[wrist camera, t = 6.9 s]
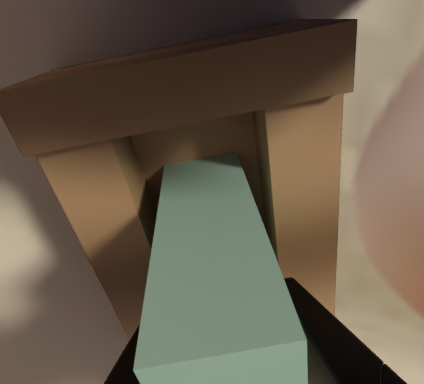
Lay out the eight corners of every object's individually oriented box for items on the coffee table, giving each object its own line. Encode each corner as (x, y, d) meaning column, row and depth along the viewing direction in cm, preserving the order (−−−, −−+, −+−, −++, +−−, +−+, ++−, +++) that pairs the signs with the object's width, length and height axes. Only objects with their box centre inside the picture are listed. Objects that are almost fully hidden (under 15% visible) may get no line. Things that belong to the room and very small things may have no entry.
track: (309, 313, 16) (336, 380, 13) (164, 339, 17) (159, 411, 14) (302, 19, 9) (357, 18, 6) (52, 70, 10) (-11, 93, 7)
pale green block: (257, 292, 14) (312, 505, 8) (201, 302, 14) (212, 522, 8) (237, 151, 10) (310, 339, 4) (162, 165, 10) (129, 371, 4)
